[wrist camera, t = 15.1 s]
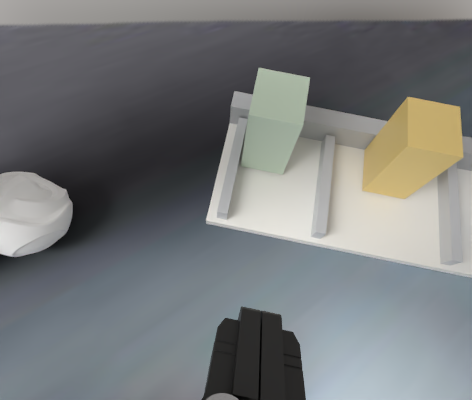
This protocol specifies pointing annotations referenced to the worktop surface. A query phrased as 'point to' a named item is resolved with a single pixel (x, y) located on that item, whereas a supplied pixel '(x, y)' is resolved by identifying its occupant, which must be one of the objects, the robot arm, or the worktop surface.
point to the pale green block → (274, 120)
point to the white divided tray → (344, 196)
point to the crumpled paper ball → (31, 213)
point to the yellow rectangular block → (413, 148)
